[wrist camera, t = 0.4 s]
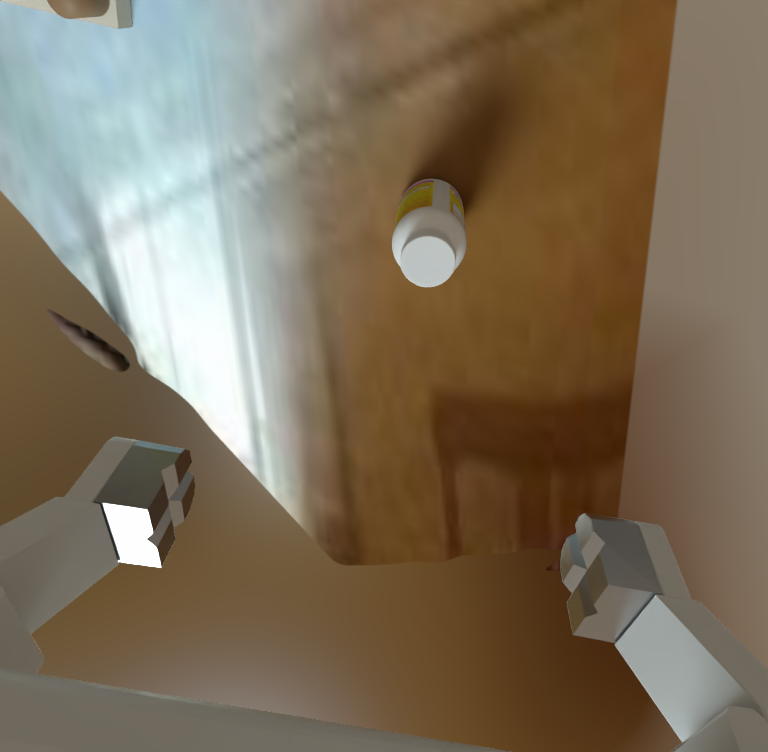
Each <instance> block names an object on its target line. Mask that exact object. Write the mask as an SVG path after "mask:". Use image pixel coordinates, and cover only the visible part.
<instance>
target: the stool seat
mask: <svg viewBox="0 0 768 752" xmlns="http://www.w3.org/2000/svg"><path fill="white" fill-rule="evenodd" d="M0 1H3V2H8V3H12V4H16V5H20V6H24V7H29V8H33V9H37V10H41V11H45V12H50V13H54V14H58V15H60V16H62V17H64V18H67V19H79V20H83V21H88V22H92V23H96V24H100V25H105V26H109V27H113V28H117V29H121V28H129V27H132V16H131V4H130V0H0Z"/></svg>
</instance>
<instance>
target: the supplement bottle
mask: <svg viewBox="0 0 768 752" xmlns="http://www.w3.org/2000/svg"><path fill="white" fill-rule="evenodd" d="M392 250H393V254H394V257H395V259H396V261H397V263H398V264H399V266H400V267H401V269H402V272H403V273H404V275H405V276H406V278H407V279H408V280H409V281H411V282H412V283H414V284H416V285H418V286H422V287H433V286H437V285H440V284H442V283H444V282H445V281H446V280H447V279H448V278H449V277H450V276H451V275H452V273H453V271H454V270H455V269H456V268H457V267H458V265H459V264H460V263H461V261H462V259H463V257H464V254H465V251H466V231H465V219H464V208H463V203H462V200H461V197H460V195H459V194H458V192H457V191H456V189H455V188H454V187H453V186H451V185H450V184H449V183H447V182H445V181H442V180H439V179H424V180H421V181H418V182H416V183H415V184H413V185H412V186H410V187H409V188H408V189H407V190H406V192H405V193H404V194H403V196H402V198H401V201H400V204H399V208H398V212H397V217H396V222H395V228H394V233H393V238H392Z"/></svg>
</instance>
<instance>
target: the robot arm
mask: <svg viewBox="0 0 768 752" xmlns="http://www.w3.org/2000/svg"><path fill="white" fill-rule="evenodd" d="M191 462H192V461H191V456H190V451H189V450H186V449H181V448H175V447H170V446H165V445H159V444H154V443H149V442H144V441H137V440H132V439H126V438H120V437H113V438H112V439H110V440H108V441H107V442H106V443H105V445H104V446H103V447H102V449H101V450H100V451H99V452H98V454H97V455H96V457H95V458H94V459H93V460H92V462H91V463H90V465H89V466H88V467H87V468H86V470H85V471H84V472H83V474H82V475H81V476H80V478H79V479H78V480H77V482H76V483H75V484H74V486H73V487H72V488H71V489H70V491H69V492H68V493H67V495H66V496H65V497H64V498H62V497H55V498H54V499H52V500H50V501H48V502H46V503H44V504H42V505H40V506H38V507H36V508H35V509H33V510H31V511H29V512H27V513H25V514H23V515H21V516H19V517H18V518H16V519H14V520H12V521H10V522H8V523H6V524H4V525H2V526H0V752H510V751H504V750H498V749H492V748H485V747H480V746H474V745H467V744H461V743H455V742H449V741H443V740H437V739H431V738H425V737H419V736H413V735H406V734H401V733H395V732H389V731H383V730H376V729H370V728H364V727H358V726H352V725H346V724H340V723H334V722H328V721H322V720H315V719H309V718H304V717H298V716H292V715H285V714H279V713H273V712H267V711H261V710H255V709H249V708H243V707H237V706H230V705H225V704H218V703H212V702H206V701H200V700H194V699H188V698H182V697H176V696H170V695H163V694H158V693H151V692H146V691H139V690H133V689H127V688H121V687H114V686H108V685H102V684H97V683H91V682H84V681H78V680H72V679H66V678H60V677H54V676H48V675H42V674H37V673H38V671H39V670H40V668H41V666H42V664H43V663H44V658H43V654H42V652H41V651H40V649H39V647H38V645H37V644H36V642H35V640H34V639H33V637H32V635H31V633H33V632H34V631H35V630H36V629H37V628H39V627H40V626H41V625H43V624H44V623H45V622H46V621H48V620H49V619H50V618H51V617H53V616H54V615H55V614H57V613H58V612H59V611H60V610H61V609H63V608H64V607H65V606H66V605H68V604H69V603H71V602H72V601H73V600H74V599H76V598H77V597H78V596H79V595H81V594H82V593H83V592H84V591H86V590H87V589H88V588H90V587H91V586H92V585H93V584H95V583H96V582H97V581H98V580H99V579H101V578H102V577H103V576H105V575H106V574H107V573H109V572H110V571H111V570H112V569H114V568H115V567H116V566H117V565H118V564H119V563H118V562H125V563H132V564H139V565H147V566H155V567H162V565H163V563H164V561H165V559H166V557H167V555H168V553H169V551H170V549H171V547H172V545H173V543H174V541H175V533H174V527H176V526H177V525H179V524H180V523H182V522H183V521H185V519H186V517H187V515H188V512H189V510H190V508H191V504H192V501H193V497H194V489H195V482H194V476H193V475H192V474H191V473H190V472H189V471H188V468H189V466H190V464H191ZM575 526H576V530H577V533H576V534H574V535H572V536H570V537H568V538H567V540H566V542H565V544H564V546H563V548H562V554H561V560H560V562H561V575H562V581H563V583H564V584H565V586H566V587H567V588H568V589H569V590H570V592H571V593H572V595H571V597H570V598H569V600H568V602H567V607H568V612H569V617H570V622H571V627H572V632H573V635H577V636H582V637H587V638H593V639H598V640H603V641H608V642H613V643H616V644H615V646H616V648H617V649H618V650H619V652H620V653H621V655H622V656H623V658H624V659H625V661H626V662H627V663H628V665H629V666H630V668H631V669H632V670H633V672H634V673H635V675H636V676H637V678H638V679H639V681H640V682H641V684H642V685H643V687H644V688H645V689H646V691H647V692H648V694H649V695H650V697H651V698H652V699H653V701H654V702H655V704H656V705H657V707H658V708H659V710H660V711H661V712H662V714H663V715H664V717H665V718H666V720H667V721H668V722H669V724H670V725H671V727H672V728H673V730H674V731H675V732H676V734H677V735H678V737H679V738H680V740H681V741H682V743H681V744H680V745H678V746H677V747H676V748H675V749H673V750H672V751H671V752H768V669H767V668H766V667H765V666H764V665H763V664H762V663H761V662H760V661H759V660H758V659H757V658H756V657H755V656H754V655H753V654H752V653H751V652H750V651H749V650H748V649H747V648H746V647H745V646H744V645H743V644H742V643H741V642H740V641H739V640H738V639H737V638H736V637H735V636H734V635H733V634H732V633H731V632H730V631H729V630H728V629H727V628H726V627H725V626H724V625H723V624H722V623H721V622H720V621H719V620H718V619H716V617H715V616H714V615H712V613H710V611H708V609H707V608H706V607H704V605H703V604H702V603H701V602H699V601H694V600H692V599H691V596H690V594H689V591H688V589H687V587H686V584H685V582H684V579H683V577H682V574H681V572H680V569H679V567H678V564H677V562H676V559H675V557H674V554H673V552H672V549H671V547H670V544H669V542H668V540H667V537H666V535H665V532H664V530H663V529H662V528H661V527H660V526H659V525H655V524H649V523H642V522H635V521H631V520H625V519H619V518H612V517H605V516H599V515H592V514H585V513H584V514H583V515H581V516H580V517H579V518H578V520H577V522H576V524H575Z"/></svg>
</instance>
